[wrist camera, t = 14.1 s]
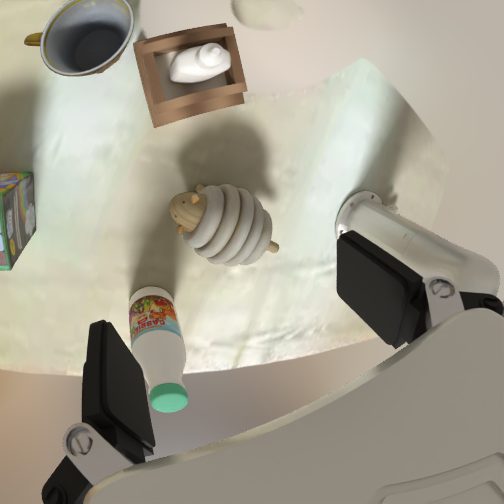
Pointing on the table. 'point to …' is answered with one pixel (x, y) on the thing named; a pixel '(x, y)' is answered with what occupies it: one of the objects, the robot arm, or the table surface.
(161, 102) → the walnut socket block
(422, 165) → the table surface
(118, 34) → the ceramic cup
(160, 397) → the milk bottle
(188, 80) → the eye dropper bottle
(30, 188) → the chalk box
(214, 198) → the toy sheep
